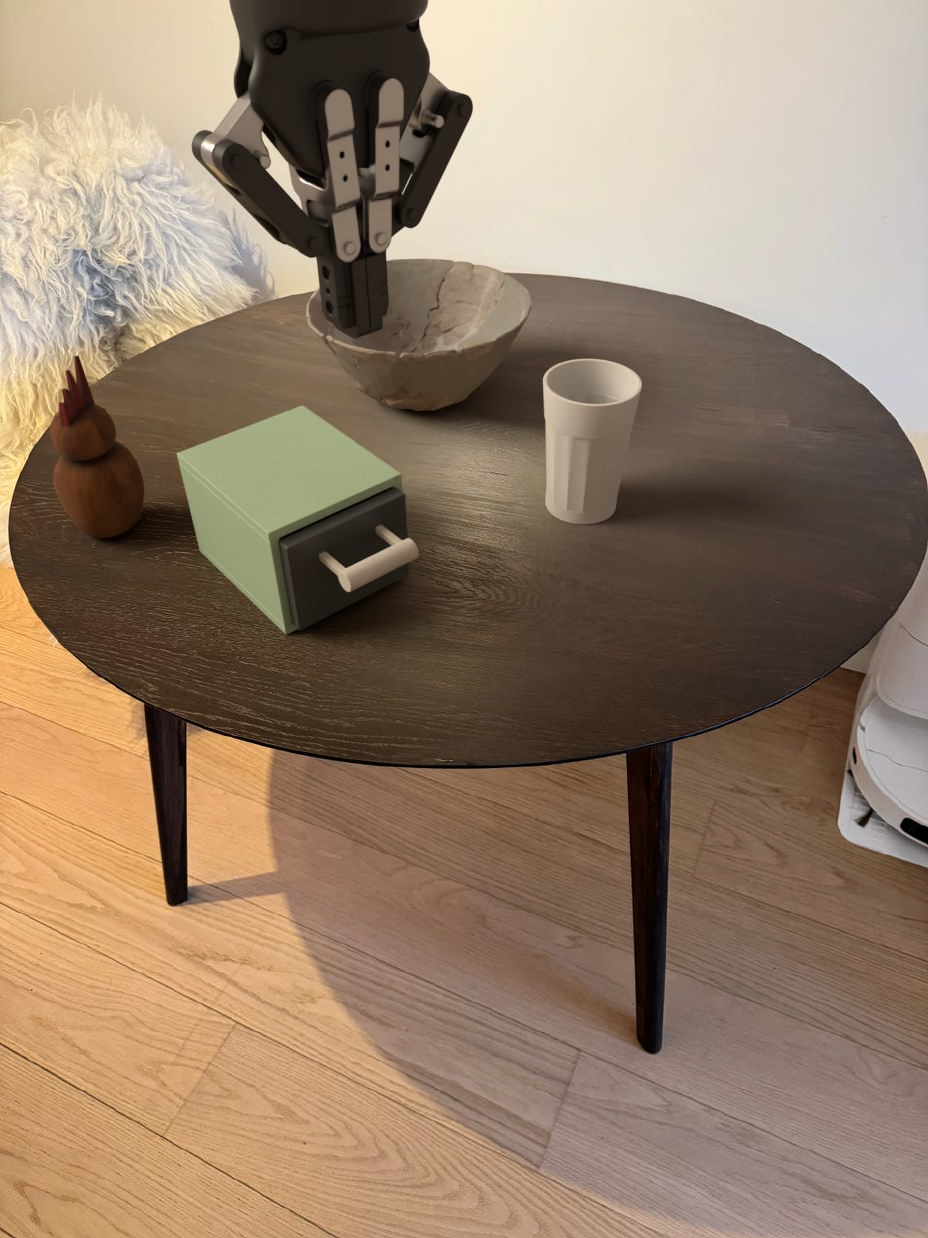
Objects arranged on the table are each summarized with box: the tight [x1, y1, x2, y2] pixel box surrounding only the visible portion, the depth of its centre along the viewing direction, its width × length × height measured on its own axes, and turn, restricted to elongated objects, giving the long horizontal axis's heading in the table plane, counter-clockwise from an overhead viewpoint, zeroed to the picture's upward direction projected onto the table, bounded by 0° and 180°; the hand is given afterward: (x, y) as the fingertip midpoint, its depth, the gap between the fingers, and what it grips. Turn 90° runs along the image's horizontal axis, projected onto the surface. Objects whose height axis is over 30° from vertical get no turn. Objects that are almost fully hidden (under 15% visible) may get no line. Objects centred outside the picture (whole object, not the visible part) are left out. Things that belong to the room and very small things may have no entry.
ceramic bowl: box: [305, 258, 533, 412], centre depth 96 cm, size 22×23×10 cm
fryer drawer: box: [278, 487, 420, 631], centre depth 72 cm, size 17×10×8 cm, turn 40°
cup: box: [542, 358, 643, 525], centre depth 80 cm, size 8×8×12 cm
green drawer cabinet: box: [176, 405, 403, 636], centre depth 75 cm, size 14×12×10 cm
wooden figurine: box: [49, 355, 145, 539], centre depth 77 cm, size 7×6×15 cm
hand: (357, 329), depth 44 cm, fingers closed
